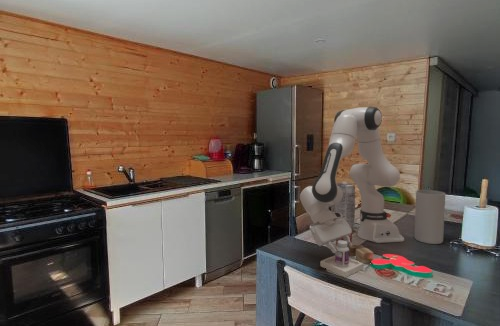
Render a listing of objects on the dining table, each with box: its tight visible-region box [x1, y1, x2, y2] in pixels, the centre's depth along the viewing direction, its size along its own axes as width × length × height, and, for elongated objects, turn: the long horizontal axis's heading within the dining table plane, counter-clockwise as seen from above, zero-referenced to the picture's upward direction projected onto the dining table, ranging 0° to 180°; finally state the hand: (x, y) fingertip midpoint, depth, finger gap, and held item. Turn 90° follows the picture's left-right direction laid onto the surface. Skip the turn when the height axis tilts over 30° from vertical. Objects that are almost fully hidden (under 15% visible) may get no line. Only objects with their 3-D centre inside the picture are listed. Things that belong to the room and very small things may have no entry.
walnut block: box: [349, 244, 365, 257], centre depth 128 cm, size 6×4×4 cm, turn 79°
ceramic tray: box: [319, 254, 364, 278], centre depth 115 cm, size 12×12×2 cm
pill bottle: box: [334, 240, 350, 267], centre depth 115 cm, size 5×5×10 cm
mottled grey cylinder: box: [334, 181, 356, 230], centre depth 166 cm, size 9×10×27 cm
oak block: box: [355, 247, 374, 265], centre depth 120 cm, size 5×5×5 cm
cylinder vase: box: [413, 189, 446, 245], centre depth 144 cm, size 12×12×25 cm
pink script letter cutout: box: [370, 253, 433, 278], centre depth 114 cm, size 20×16×2 cm
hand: (343, 249), depth 114 cm, fingers open, 8 cm apart
